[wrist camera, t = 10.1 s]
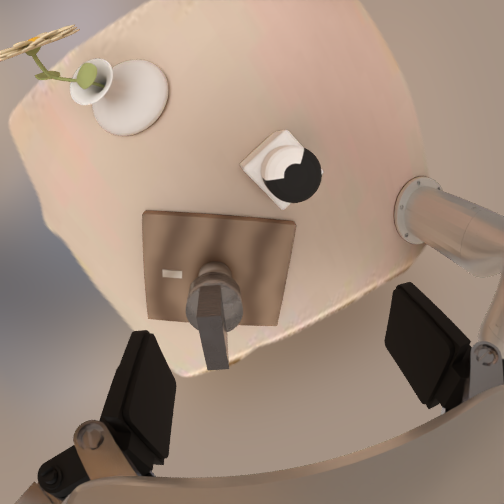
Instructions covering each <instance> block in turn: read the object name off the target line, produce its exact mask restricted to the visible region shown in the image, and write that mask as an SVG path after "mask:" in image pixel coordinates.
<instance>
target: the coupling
mask: <svg viewBox="0 0 504 504" xmlns="http://www.w3.org/2000/svg"><path fill="white" fill-rule="evenodd" d="M185 312H186V316H187V319H188V321H189V322H190V324H191V325H192V326H193V327H194V328H196V329H197V330H199V333H200V338H201V343H202V347H203V352H204V356H205V360H206V365H207V369H208V370H220V369H229V360H228V342H227V332H229V331H231V330H232V329H234V328H235V327H236V326H237V325H238V324H239V323H240V321H241V319H242V316H243V306H242V299H241V292H240V288H239V285H238V284H237V282H236V281H235V280H234V279H233V278H232V277H230V276H229V275H227V274H224V273H220V272H208V273H204V274H202V275H200V276H198V277H197V278H196V279H195V280H194V281H193V282H192V283H191V285H190V288H189V292H188V297H187V303H186V311H185Z"/></svg>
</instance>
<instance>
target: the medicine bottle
mask: <svg viewBox="0 0 504 504" xmlns="http://www.w3.org/2000/svg"><path fill="white" fill-rule="evenodd" d="M240 167H241V168H242V169H243V171H244V172H245V173H246V174H247V175H248V176H249V177H250V178H251V179H252V180H253V181H254V182H255V183H256V184H257V185H258V186H259V187H260V188H261V189H262V190H263V191H264V192H265V193H266V194H267V195H268V196H269V197H270V198H271V199H272V200H273V202H274V203H275V204H276V205H277V206H278V207H279V208H280V209H282V210H284V209H285V208H287V207H288V206H289V205H290V204H291V203H298V202H302V201H305V200H307V199H308V198H310V197H311V196H312V195H313V194H314V193H315V192H316V191H317V189H318V187H319V185H320V182H321V177H322V174H323V170H322V169H321V166H320V163H319V161H318V159H317V158H316V156H315V155H314V154H313V153H312V152H310V151H309V150H307V149H305V148H304V147H303V146H302V145H301V144H300V143H299V142H298V141H297V140H296V138H295V137H294V136H293V135H292V134H291V133H290V132H289V131H288V130H281V131H275V132H273V133H272V134H271V135H270V136H269V137H268V138H267V139H266V140H265V141H263V142H262V143H261V144H260V145H259V146H258V147H257V148H256V149H255V150H254V151H253V152H252V153H250V154H249V155H248V156H247V157H246V158H245V159H244V160H243V161H242V162H241V163H240Z"/></svg>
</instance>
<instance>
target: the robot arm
mask: <svg viewBox="0 0 504 504" xmlns="http://www.w3.org/2000/svg"><path fill="white" fill-rule="evenodd" d="M394 220H395V225H396V228H397V231H398V233H399V234H400V236H401V237H402V238H403V239H404V240H406V241H407V242H409V243H411V244H422V243H426V244H428V245H430V246H431V247H432V248H434V249H436V250H437V251H439V252H440V253H442V254H443V255H445V256H446V257H447V258H449V259H450V260H452V261H453V262H455V263H456V264H458V265H459V266H460V267H462V268H464V269H465V270H466V271H468V272H469V273H471V274H472V275H474V276H476V277H482V278H484V277H490V276H494V275H497V274H500V273H501V278H500V281H499V284H498V288H497V290H496V293H495V295H494V298H493V300H492V302H491V304H490V307H489V309H488V311H487V313H486V315H485V318H484V320H483V322H482V324H481V327H480V330H479V333H478V342H477V343H476V344H475V345H473V347H471V346H470V345H469V344H470V342H471V341H470V340H469V339H468V338H467V337H466V336H465V335H464V334H463V333H462V331H461V330H460V329H459V328H458V327H457V326H456V325H455V324H454V323H453V322H452V321H451V320H450V319H449V318H448V317H447V316H446V315H445V314H444V313H443V312H442V311H441V310H440V309H439V308H438V307H437V306H436V305H435V304H433V302H432V301H431V300H430V299H429V298H427V297H426V296H425V295H424V294H423V293H422V292H421V291H420V290H419V289H418V288H417V287H416V286H415V285H413V283H411V282H407V283H404V284H400V285H398V286H397V287H396V289H395V290H394V291H393V296H392V302H391V308H390V314H389V320H388V325H387V331H386V336H385V346H386V348H387V350H388V351H389V353H390V354H391V356H392V357H393V359H394V360H395V362H396V363H397V365H398V366H399V368H400V369H401V371H402V372H403V374H404V376H405V377H406V379H407V380H408V382H409V383H410V385H411V387H412V388H413V390H414V392H415V393H416V395H417V396H418V398H419V400H420V401H421V402H422V404H426V405H427V407H428V409H430V408H432V407H434V406H436V405H438V404H439V403H440V404H441V406H442V411H441V415H440V416H438V417H436V418H434V419H433V420H431V421H429V422H427V423H425V424H423V425H421V426H419V427H416V428H415V429H412V430H410V431H408V432H406V433H403V434H401V435H399V436H397V437H394V438H392V439H389V440H387V441H384V442H382V443H379V444H377V445H374V446H371V447H368V448H365V449H362V450H360V451H356V452H354V453H350V454H347V455H344V456H340V457H337V458H333V459H330V460H326V461H322V462H318V463H314V464H309V465H305V466H300V467H295V468H290V469H285V470H279V471H273V472H266V473H259V474H250V475H240V476H228V477H207V478H171V477H170V478H169V477H156V476H155V475H154V473H153V472H152V469H153V464H156V465H164V458H167V457H168V455H169V444H170V435H171V426H172V417H173V408H174V401H175V393H176V381H175V378H174V376H173V375H172V372H171V370H170V368H169V366H168V364H167V362H166V360H165V358H164V356H163V354H162V352H161V349H160V347H159V345H158V343H157V340H156V338H155V336H154V334H150V333H149V332H148V331H147V330H143V331H134V332H132V334H131V337H130V339H129V341H128V344H127V347H126V349H125V352H124V355H123V357H122V360H121V363H120V365H119V367H118V368H117V370H116V373H115V376H114V379H113V381H112V384H111V387H110V390H109V393H108V396H107V399H106V402H105V405H104V408H103V411H102V414H101V418H100V421H97V420H89V421H86V422H84V423H82V424H81V425H79V427H78V428H77V429H76V431H75V433H74V437H73V441H74V445H73V446H72V447H70V448H68V449H67V450H65V451H64V452H62V453H60V454H59V455H57V456H55V457H54V458H52V459H50V460H48V461H47V462H45V463H44V464H43V465H42V466H41V467H40V469H39V471H38V483H36V482H33V483H32V485H31V486H30V487H29V488H28V489H27V490H26V491H25V492H24V494H23V495H22V496H21V497H20V498H19V499H18V500H17V501H16V503H15V504H504V216H502V215H500V214H497V213H496V212H493V211H491V210H488V209H486V208H484V207H482V206H479V205H477V204H475V203H472V202H470V201H467V200H464V199H462V198H460V197H457V196H454V195H452V194H449V193H446V192H444V191H443V190H442V188H441V186H440V185H439V184H438V183H437V182H436V181H435V180H433V179H431V178H429V177H423V176H420V177H416V178H414V179H412V180H410V181H409V182H408V183H407V184H406V185H405V186H404V187H403V189H402V190H401V192H400V194H399V196H398V198H397V201H396V205H395V212H394Z"/></svg>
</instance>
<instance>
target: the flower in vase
mask: <svg viewBox="0 0 504 504" xmlns="http://www.w3.org/2000/svg"><path fill="white" fill-rule="evenodd" d="M73 26H75V25H71V26H65V27H63V28H60V29H58V30H54V31H52V32H49V33H47V32H45V33H42V34H40V35H38V36H36V37H34V38H31V39H30V40H28V41H22V42H18V43H16V44H14V45H13V47H12V48H8V49H4V50H1V51H0V61H3V60H6V59H9V58H11V57H14V56H17V55H19V54H22V53H24V52H25V53H26V54H27V55H29V56H32V57H33V59H34V60H35V62H36V63H37V65H38V66H39V67H40V69H41V70H42V71H43V73H40V74H37V75H35V77H36V78H37V79H38V80H47V79H55V80H61V81H69V82H71V83H70V94H71V97H72V99H73V100H74V101H75V102H76V103H78V104H80V105H90V104H92V108H93V113H94V116H95V118H96V120H97V122H98V124H99V125H100V126H101V127H102V128H103V129H104V130H105V131H107V132H109V133H111V134H113V135H118V136H129V135H134V134H137V133H139V132H141V131H143V130H145V129H147V128H148V127H149V126H151V125H152V124H153V123H154V122H155V121H156V120H157V119H158V117H159V116H160V115H161V113H162V112H163V110H164V108H165V105H166V102H167V98H168V82H167V79H166V76H165V75H164V73H163V71H162V70H161V69H160V68H159V67H158V66H157V65H155V64H154V63H152V62H150V61H146V60H141V59H135V60H129V61H125V62H122V63H119V64H117V65H115V66H114V67H111V65H110V63H109V62H108V61H106V60H104V59H101V58H95V59H91V60H89V61H87V62H85V63H84V64H82V65H81V66H80V67H79V68H78V69H77V70H76V72H75V73H74V75H73V77H72V78H63V77H59V76H60V73H59V72H56V71H47V69H46V68H45V67H44V66H43V64H42V63H41V62H40V60H39V59H38V57H37V56H36V53H37V52H38V51H39V50H40V48H41V46H43V45H46V44H48V43H51V42H54V41H57V40H59V39H62V38H65V37H67V36H69V35H72V34H74V33H76V32H77V31H79V30H80V29H77V30H74V29H76V28H77V27H74V28H72V27H73ZM70 28H71V29H70ZM68 29H69V30H68ZM65 30H66V31H65ZM73 30H74V31H73ZM63 31H64V32H63Z"/></svg>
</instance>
